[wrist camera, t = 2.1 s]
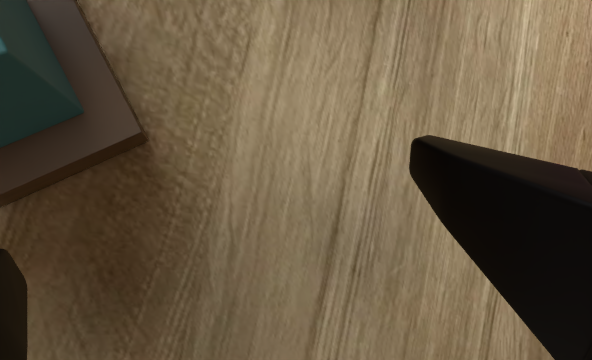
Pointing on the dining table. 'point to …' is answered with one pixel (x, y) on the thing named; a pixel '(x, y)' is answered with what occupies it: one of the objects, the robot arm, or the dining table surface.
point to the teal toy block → (29, 77)
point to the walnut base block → (77, 130)
